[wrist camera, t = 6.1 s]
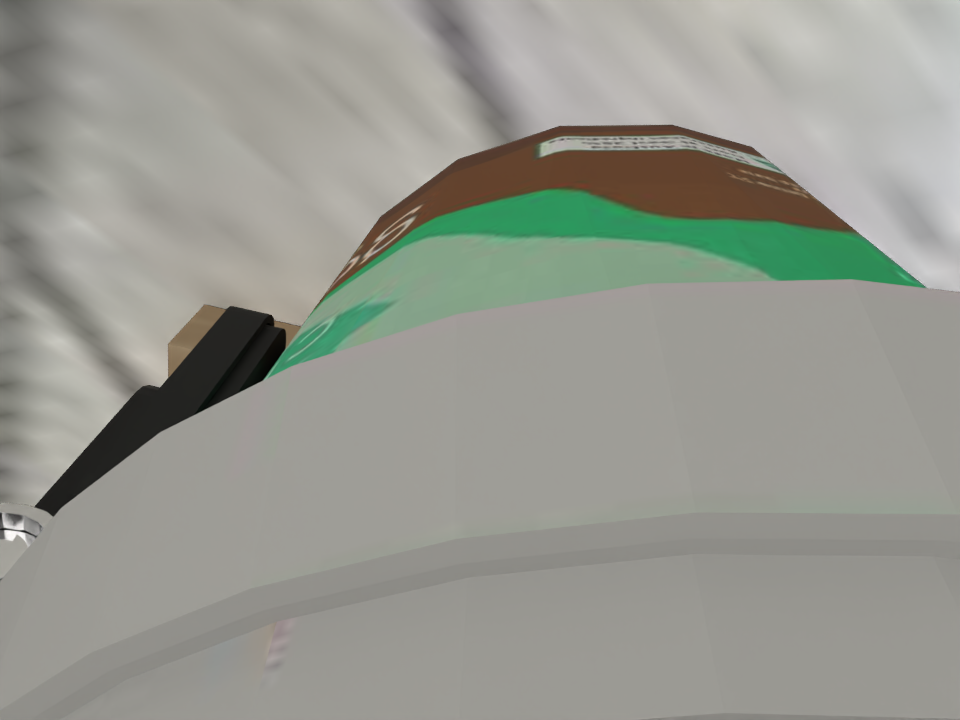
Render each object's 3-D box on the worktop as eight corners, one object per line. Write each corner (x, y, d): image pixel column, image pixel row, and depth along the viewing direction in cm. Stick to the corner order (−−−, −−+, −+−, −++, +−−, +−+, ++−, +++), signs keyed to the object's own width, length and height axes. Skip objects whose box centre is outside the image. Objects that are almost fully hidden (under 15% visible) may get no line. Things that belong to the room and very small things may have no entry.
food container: (352, -142, 10) (-627, -104, 2) (809, 39, 11) (1713, 710, 2) (194, 551, 17) (-189, 1302, 8) (490, 640, 17) (431, 1420, 9)
